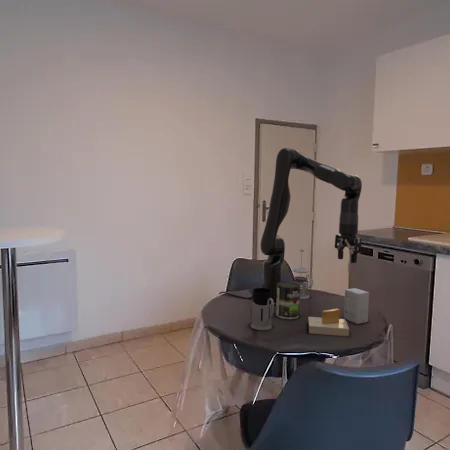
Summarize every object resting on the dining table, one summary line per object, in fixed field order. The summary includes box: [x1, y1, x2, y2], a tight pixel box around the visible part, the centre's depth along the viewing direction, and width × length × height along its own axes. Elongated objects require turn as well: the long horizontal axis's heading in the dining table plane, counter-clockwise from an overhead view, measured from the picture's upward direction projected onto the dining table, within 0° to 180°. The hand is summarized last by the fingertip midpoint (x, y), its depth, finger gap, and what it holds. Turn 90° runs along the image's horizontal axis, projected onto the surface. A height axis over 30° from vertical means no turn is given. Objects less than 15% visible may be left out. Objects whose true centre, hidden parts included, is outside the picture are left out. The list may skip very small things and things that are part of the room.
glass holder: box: [250, 287, 275, 331], centre depth 152 cm, size 9×14×15 cm, turn 20°
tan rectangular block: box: [321, 307, 341, 324], centre depth 151 cm, size 7×2×5 cm, turn 110°
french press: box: [292, 248, 314, 300], centre depth 198 cm, size 10×12×25 cm
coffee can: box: [275, 281, 301, 320], centre depth 168 cm, size 10×10×14 cm
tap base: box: [307, 316, 350, 337], centre depth 152 cm, size 15×11×3 cm
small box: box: [343, 287, 370, 325], centre depth 163 cm, size 8×6×13 cm
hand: (346, 260), depth 160 cm, fingers open, 8 cm apart
